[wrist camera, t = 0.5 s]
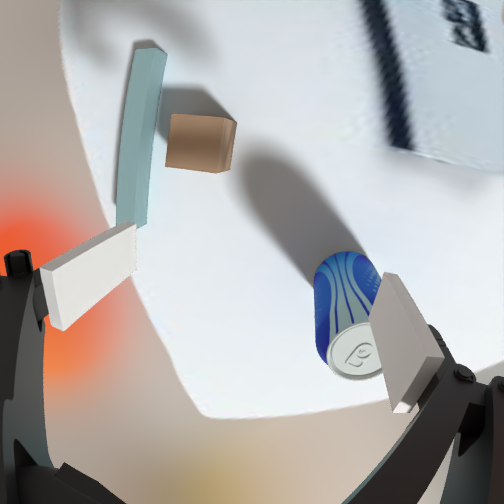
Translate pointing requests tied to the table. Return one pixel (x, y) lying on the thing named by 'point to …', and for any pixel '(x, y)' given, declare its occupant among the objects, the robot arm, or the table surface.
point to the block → (200, 143)
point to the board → (138, 136)
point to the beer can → (346, 315)
